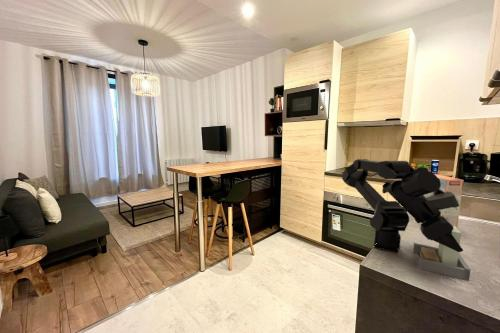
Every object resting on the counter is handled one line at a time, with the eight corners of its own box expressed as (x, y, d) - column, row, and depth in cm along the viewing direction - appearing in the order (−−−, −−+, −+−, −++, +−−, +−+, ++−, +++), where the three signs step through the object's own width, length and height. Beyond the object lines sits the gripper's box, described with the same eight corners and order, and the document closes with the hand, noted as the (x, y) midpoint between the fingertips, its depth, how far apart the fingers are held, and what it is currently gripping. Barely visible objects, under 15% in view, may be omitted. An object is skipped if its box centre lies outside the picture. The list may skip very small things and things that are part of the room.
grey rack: (418, 268, 58) (419, 257, 58) (413, 250, 67) (414, 241, 67) (468, 280, 53) (470, 269, 52) (455, 259, 62) (456, 250, 62)
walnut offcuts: (424, 268, 59) (425, 258, 58) (419, 255, 65) (420, 246, 65) (440, 272, 57) (441, 261, 56) (434, 258, 63) (435, 249, 63)
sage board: (441, 268, 58) (445, 230, 56) (437, 259, 62) (441, 224, 61) (456, 272, 56) (461, 233, 55) (450, 262, 60) (455, 226, 59)
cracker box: (458, 234, 78) (465, 179, 76) (439, 233, 80) (445, 178, 77) (433, 220, 92) (438, 173, 89) (418, 219, 93) (422, 173, 91)
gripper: (445, 188, 50) (507, 243, 46) (430, 176, 66) (474, 217, 62) (402, 214, 55) (454, 266, 51) (397, 197, 71) (436, 236, 67)
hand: (455, 243), depth 58 cm, fingers open, 9 cm apart
